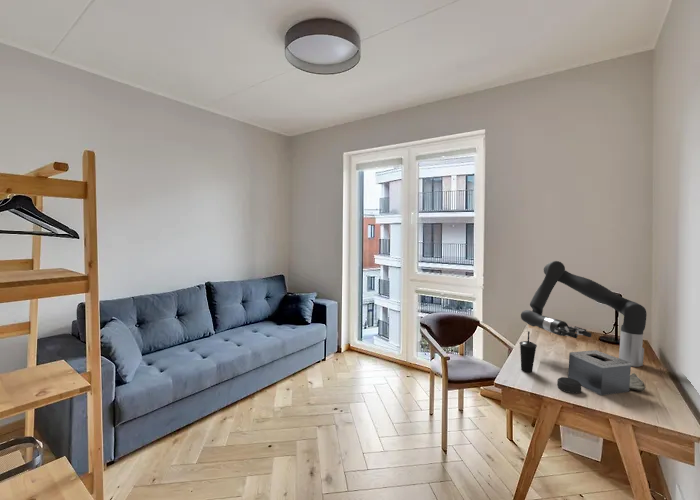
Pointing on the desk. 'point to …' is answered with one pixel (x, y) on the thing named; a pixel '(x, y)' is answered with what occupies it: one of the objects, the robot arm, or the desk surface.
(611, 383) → the coin box
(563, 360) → the desk surface
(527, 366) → the drinking cup
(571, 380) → the smart speaker
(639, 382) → the rock sample
